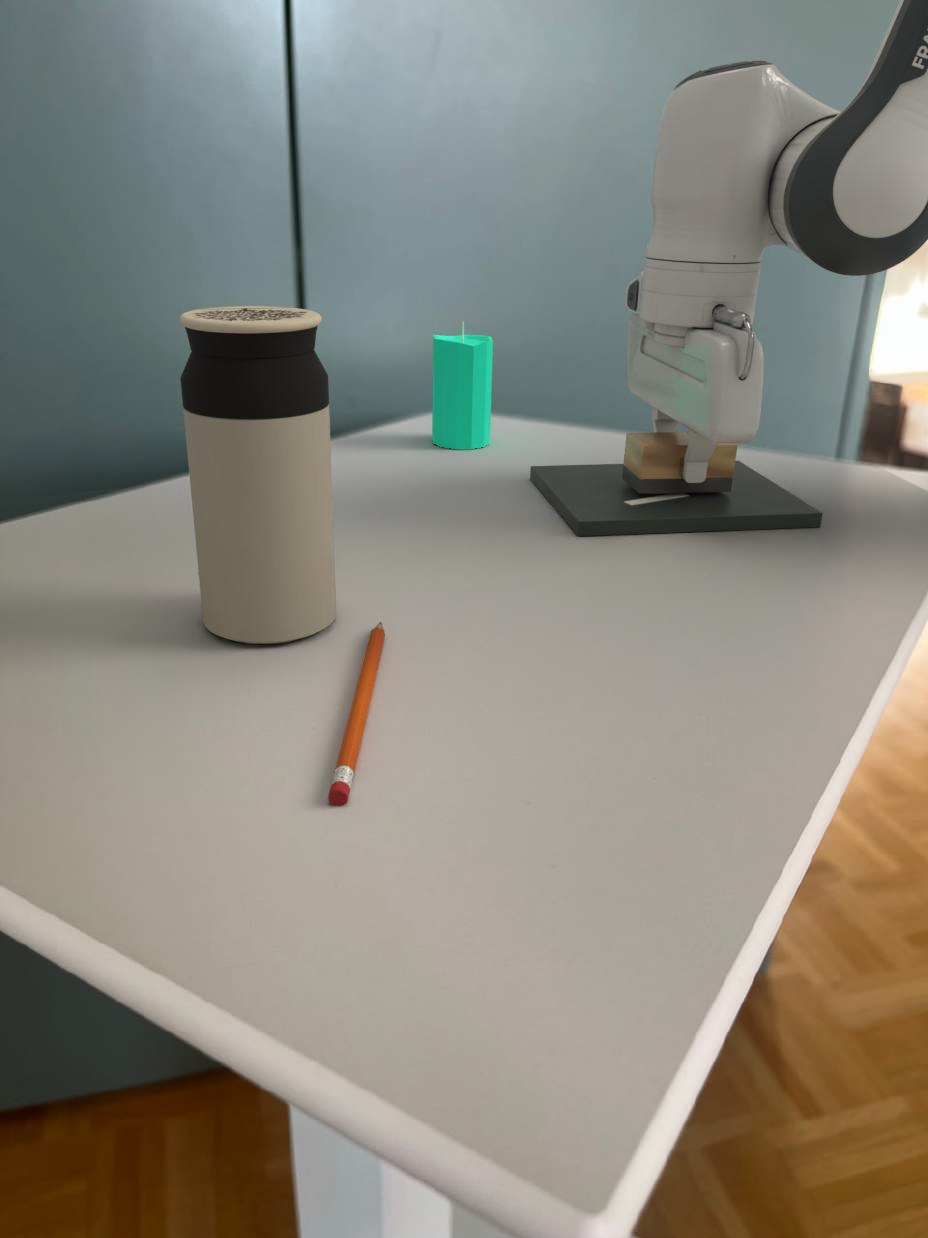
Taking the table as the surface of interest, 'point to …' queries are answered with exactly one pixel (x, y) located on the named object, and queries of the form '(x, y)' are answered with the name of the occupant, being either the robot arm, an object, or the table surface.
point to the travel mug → (260, 472)
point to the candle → (462, 390)
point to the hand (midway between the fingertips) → (678, 470)
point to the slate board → (667, 503)
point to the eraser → (673, 464)
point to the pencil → (356, 720)
